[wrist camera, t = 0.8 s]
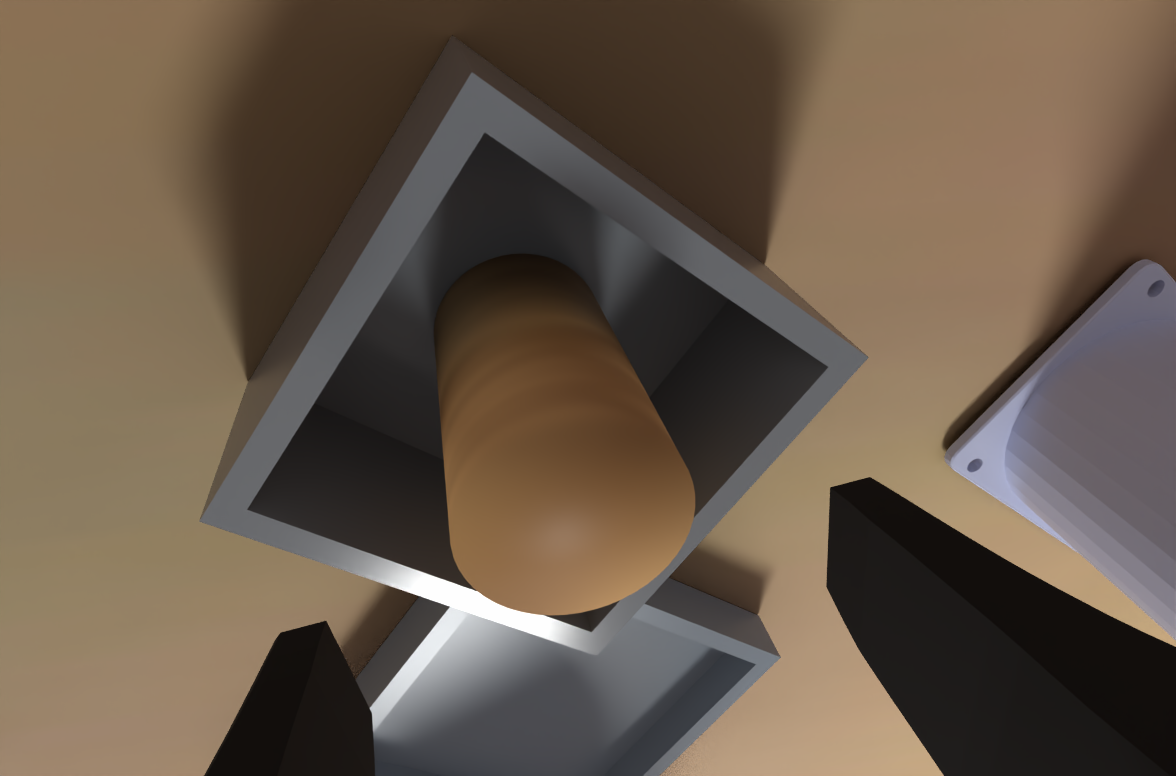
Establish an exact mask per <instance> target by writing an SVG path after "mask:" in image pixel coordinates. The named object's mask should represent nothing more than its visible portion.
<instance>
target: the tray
mask: <svg viewBox="0 0 1176 776" xmlns="http://www.w3.org/2000/svg"><path fill="white" fill-rule="evenodd" d="M780 658H781V657H780V655H779V653H778V651H777V649H776V648H775V646H774V644H773V642H772V640H771V638H770V636H769V634H768V632H767V631H766V629H765V627H764V625H763V623H762V621H761V619H760V617H759V616H758V615H756V614H753V613H751V612H749V611H746V610H744V609H742V608H739V607H737V606H735V605H732V604H730V603H727V602H725V601H723V600H720V599H718V598H716V597H713V596H711V595H708V594H706V593H704V592H701V591H699V590H697V589H694V588H692V587H690V586H687V585H685V584H682V583H680V582H678V581H675V580H673V579H671V578H667V579H666V581H665V582H664V583H663V584H662V585H661V586H660V587H659V588H658V589H657V590H656V592H655V593H654V594H653V595H652V596H651V597H650V598H649V599H648V600H647V601H646V603H645V604H644V605H643V606H642V607H641V608H640V609H639V610H638V611H637V612H636V614H635V615H634V616H633V617H632V618H631V619H630V620H629V621H628V622H627V623H626V624H625V626H624V627H623V628H622V629H621V630H620V631H619V632H618V633H617V634H616V635H615V637H614V638H613V639H612V640H611V641H610V642H609V643H608V644H607V645H606V646H605V648H604V649H603V650H602V651H601V652H600V653H599V654H598V655H597V656H595V655H592V654H589V653H586V652H583V651H580V650H577V649H574V648H571V647H568V646H566V645H563V644H560V643H557V642H554V641H551V640H548V639H545V638H542V637H539V636H536V635H533V634H530V633H527V632H524V631H521V630H518V629H515V628H512V627H509V626H506V625H504V624H501V623H498V622H495V621H492V620H489V619H486V618H483V617H480V616H477V615H474V614H471V613H468V612H465V611H462V610H459V609H456V608H453V607H450V606H447V605H444V604H442V603H439V602H436V601H433V600H430V599H427V598H424V597H421V596H419V597H418V599H417V600H416V601H415V603H414V604H413V605H412V606H411V608H410V609H409V610H408V612H407V613H406V614H405V616H404V617H403V618H402V619H401V621H400V622H399V623H398V625H397V626H396V627H395V629H394V630H393V631H392V632H391V634H390V635H389V636H388V638H387V639H386V640H385V642H384V643H383V644H382V645H381V647H380V648H379V649H378V651H377V652H376V653H375V655H374V656H373V657H372V658H371V660H370V661H369V662H368V664H367V665H366V666H365V668H364V669H363V670H362V671H361V673H360V674H359V675H358V677H357V678H356V679H355V680H356V682H357V684H358V686H359V688H360V690H361V692H362V694H363V696H364V698H365V700H366V702H367V704H368V706H369V708H370V710H371V712H372V721H373V738H374V756H375V776H659V775H660V774H661V773H662V772H663V771H664V770H666V769H667V768H668V767H669V766H670V765H671V764H672V763H673V762H674V761H675V760H676V759H677V758H678V757H679V756H680V755H681V754H682V753H683V752H684V751H685V750H686V749H687V748H688V747H689V746H690V745H691V744H692V743H693V742H694V741H695V740H696V739H697V738H698V737H699V736H700V735H701V734H702V733H704V732H705V731H706V730H707V729H708V728H709V727H710V726H711V725H712V724H713V723H714V722H715V721H716V720H717V719H718V718H719V717H720V716H721V715H722V714H723V713H724V712H725V711H726V710H727V709H728V708H729V707H730V706H731V705H732V704H733V703H734V702H735V701H736V700H737V699H738V698H739V697H740V696H742V695H743V694H744V693H745V692H746V691H747V690H748V689H749V688H750V687H751V686H752V685H753V684H754V683H755V682H756V681H757V680H758V679H759V678H760V677H761V676H762V675H763V674H764V673H765V672H766V671H767V670H768V669H769V668H770V667H771V666H772V665H773V664H774V663H775V662H776V661H777V660H779V659H780Z"/></svg>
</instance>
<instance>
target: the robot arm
mask: <svg viewBox="0 0 1176 776" xmlns="http://www.w3.org/2000/svg"><path fill="white" fill-rule="evenodd" d="M945 462H946V463H947V464H948V465H949V466H950V467H951V468H952V469H953V470H954V471H956V472H957V473H959V474H960V475H962V476H963V477H965V478H966V479H968V480H969V481H971V482H972V483H974V484H975V485H977V486H978V487H980V488H981V489H983V490H984V491H986V492H987V493H989V494H990V495H992V496H993V497H995V498H996V499H998V500H999V501H1001V502H1002V503H1004V504H1005V505H1007V506H1008V507H1010V508H1011V509H1013V510H1014V511H1016V512H1017V513H1019V514H1020V515H1022V516H1023V517H1025V518H1026V519H1028V520H1029V521H1031V522H1032V523H1034V524H1036V525H1037V526H1039V527H1040V528H1042V529H1043V530H1045V531H1046V532H1048V533H1049V534H1051V535H1052V536H1054V537H1055V538H1057V539H1058V540H1060V541H1061V542H1063V543H1064V544H1066V545H1067V546H1069V547H1070V548H1072V549H1073V550H1075V551H1076V552H1078V553H1079V554H1081V555H1082V556H1083V557H1084V558H1085V559H1086V560H1087V561H1088V562H1090V563H1091V564H1092V565H1093V566H1094V567H1095V568H1096V569H1097V570H1098V571H1099V572H1101V573H1102V574H1103V575H1104V576H1105V577H1106V578H1107V579H1108V580H1109V581H1111V582H1112V583H1113V584H1114V585H1115V586H1116V587H1117V588H1118V589H1119V590H1121V591H1122V592H1123V593H1124V594H1125V595H1126V596H1127V597H1128V598H1129V599H1130V600H1132V601H1133V602H1134V603H1135V604H1136V605H1137V606H1138V607H1139V608H1140V609H1142V610H1143V611H1144V612H1145V613H1146V614H1147V615H1148V616H1149V617H1150V618H1151V619H1153V620H1154V621H1155V622H1156V623H1157V624H1158V625H1159V626H1160V627H1161V628H1163V629H1164V630H1165V631H1166V632H1167V633H1168V634H1169V635H1170V636H1171V637H1172V638H1174V639H1175V640H1176V282H1175V280H1174V279H1173V278H1172V277H1171V276H1170V275H1169V274H1168V273H1167V271H1166V270H1165V269H1164V268H1163V267H1162V266H1161V265H1160V264H1158V263H1156V262H1153V261H1151V260H1149V259H1143V260H1140V261H1138V262H1136V263H1134V264H1133V265H1132V266H1130V267H1129V268H1128V269H1127V270H1126V271H1125V272H1124V273H1123V274H1122V275H1121V276H1120V277H1119V278H1118V279H1117V280H1116V281H1115V282H1114V283H1113V284H1112V285H1111V286H1110V287H1109V288H1108V289H1107V290H1106V291H1105V292H1104V293H1103V294H1102V295H1101V296H1100V297H1099V298H1098V299H1097V300H1096V301H1095V302H1094V303H1093V304H1092V305H1091V306H1090V307H1089V308H1088V309H1087V310H1086V311H1085V312H1084V313H1083V314H1082V315H1081V316H1080V317H1079V318H1078V319H1077V320H1076V321H1075V322H1074V323H1073V324H1072V325H1071V326H1070V327H1069V328H1068V329H1067V330H1066V331H1065V332H1064V333H1063V334H1062V335H1061V336H1060V337H1059V338H1058V339H1057V340H1056V341H1055V342H1054V343H1053V344H1052V345H1051V346H1050V347H1049V348H1048V349H1047V350H1046V351H1045V352H1044V353H1043V354H1042V355H1041V356H1040V357H1039V358H1038V359H1037V360H1036V361H1035V362H1034V363H1033V364H1032V365H1031V366H1030V367H1029V368H1028V369H1027V370H1026V371H1025V372H1024V373H1023V374H1022V375H1021V376H1020V377H1019V378H1018V379H1017V380H1016V381H1015V382H1014V383H1013V384H1012V385H1011V386H1010V387H1009V388H1008V389H1007V390H1006V391H1005V392H1004V393H1003V394H1002V395H1001V396H1000V397H999V398H998V399H997V400H996V401H995V402H994V403H993V404H992V405H991V406H990V407H989V408H988V409H987V410H986V411H985V412H984V413H983V414H982V415H981V416H980V417H979V418H978V419H977V420H976V421H975V422H974V423H973V424H972V425H971V426H970V427H969V428H968V429H967V430H966V431H965V432H964V433H963V434H962V435H961V436H960V437H959V438H958V439H957V440H956V441H955V442H954V443H953V444H952V445H951V446H950V447H949V448H948V450H947V451H946V454H945ZM826 587H827V589H828V591H829V593H830V595H831V597H832V599H833V601H834V603H835V605H836V607H837V609H838V611H839V613H840V615H841V617H842V619H843V621H844V623H845V624H846V626H847V628H848V630H849V632H850V634H851V636H852V638H853V639H854V641H855V643H856V645H857V647H858V649H859V651H860V652H861V654H862V655H863V657H864V658H865V660H866V661H867V663H868V664H869V666H870V667H871V669H872V670H873V672H874V673H875V675H876V676H877V678H878V679H879V681H880V682H881V684H882V685H883V687H884V688H885V690H886V691H887V693H888V694H889V696H890V697H891V699H892V700H893V702H894V703H895V704H896V706H897V707H898V709H899V710H900V712H901V713H902V715H903V716H904V718H905V719H906V721H907V722H908V723H909V725H910V726H911V728H912V729H913V731H914V732H915V734H916V735H917V737H918V738H919V740H920V741H921V743H922V744H923V745H924V747H925V748H926V750H927V751H928V753H929V754H930V756H931V757H932V759H933V760H934V762H935V763H936V765H937V766H938V767H939V769H940V770H941V772H942V773H943V775H944V776H1176V647H1175V646H1172V645H1170V644H1168V643H1166V642H1164V641H1161V640H1159V639H1157V638H1155V637H1153V636H1150V635H1148V634H1146V633H1144V632H1142V631H1140V630H1138V629H1136V628H1134V627H1132V626H1129V625H1127V624H1125V623H1123V622H1121V621H1119V620H1117V619H1115V618H1113V617H1111V616H1109V615H1107V614H1105V613H1103V612H1101V611H1099V610H1098V609H1096V608H1094V607H1092V606H1090V605H1088V604H1086V603H1084V602H1082V601H1080V600H1078V599H1077V598H1075V597H1073V596H1071V595H1069V594H1067V593H1065V592H1063V591H1061V590H1059V589H1057V588H1056V587H1054V586H1052V585H1050V584H1048V583H1047V582H1045V581H1043V580H1041V579H1039V578H1037V577H1036V576H1034V575H1032V574H1030V573H1028V572H1027V571H1025V570H1023V569H1021V568H1020V567H1018V566H1016V565H1014V564H1013V563H1011V562H1009V561H1007V560H1006V559H1004V558H1002V557H1001V556H999V555H997V554H995V553H994V552H992V551H990V550H989V549H987V548H985V547H984V546H982V545H980V544H979V543H977V542H975V541H973V540H972V539H970V538H968V537H967V536H965V535H963V534H962V533H960V532H959V531H957V530H955V529H954V528H952V527H950V526H949V525H947V524H946V523H944V522H942V521H941V520H939V519H937V518H936V517H934V516H932V515H931V514H929V513H928V512H926V511H924V510H923V509H921V508H920V507H918V506H916V505H915V504H913V503H912V502H910V501H908V500H907V499H905V498H904V497H902V496H900V495H899V494H897V493H895V492H894V491H892V490H891V489H889V488H887V487H886V486H884V485H882V484H881V483H879V482H877V481H876V480H874V479H872V478H871V477H868V478H865V479H861V480H857V481H853V482H849V483H846V484H842V485H838V486H834V487H830V509H829V535H828V561H827V586H826ZM204 776H375V756H374V738H373V721H372V712H371V710H370V708H369V706H368V704H367V702H366V700H365V698H364V696H363V694H362V692H361V690H360V688H359V686H358V684H357V682H356V680H355V678H354V676H353V674H352V672H351V670H350V668H349V666H348V664H347V662H346V660H345V658H344V656H343V654H342V652H341V650H340V648H339V646H338V644H337V642H336V640H335V638H334V636H333V634H332V632H331V630H330V627H329V625H328V623H327V621H323V622H320V623H316V624H312V625H308V626H304V627H301V628H297V629H293V630H289V631H285V632H282V633H280V634H279V636H278V637H277V638H276V640H275V641H274V643H273V645H272V647H271V649H270V651H269V653H268V655H267V657H266V659H265V661H264V663H263V665H262V667H261V669H260V671H259V673H258V675H257V677H256V679H255V681H254V683H253V685H252V687H251V689H250V691H249V693H248V695H247V696H246V698H245V700H244V702H243V704H242V706H241V708H240V710H239V712H238V714H237V716H236V718H235V720H234V721H233V723H232V725H231V727H230V729H229V731H228V733H227V735H226V737H225V739H224V741H223V742H222V744H221V746H220V748H219V750H218V751H217V753H216V755H215V757H214V759H213V761H212V762H211V764H210V766H209V768H208V770H207V771H206V773H205V775H204Z"/></svg>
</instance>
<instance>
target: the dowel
mask: <svg viewBox="0 0 1176 776" xmlns="http://www.w3.org/2000/svg"><path fill="white" fill-rule="evenodd" d="M434 346H435V358H436V371H437V383H438V396H439V408H440V421H441V433H442V445H443V458H444V470H445V483H446V495H447V508H448V520H449V533H450V545H451V549H452V553H453V557H454V560H455V562H456V564H457V567H458V569H459V570H460V572H461V573H462V575H463V576H464V578H465V579H466V580H467V581H468V583H469V584H470V585H471V586H472V587H473V588H474V589H475V590H477V591H478V592H479V593H480V594H482V595H483V596H484V597H486V598H488V599H489V600H491V601H493V602H495V603H497V604H499V605H501V606H504V607H506V608H509V609H512V610H516V611H519V612H524V613H530V614H536V615H567V614H575V613H581V612H586V611H590V610H594V609H598V608H601V607H604V606H607V605H610V604H612V603H614V602H617V601H619V600H621V599H623V598H625V597H627V596H629V595H631V594H633V593H635V592H636V591H638V590H639V589H641V588H642V587H644V586H645V585H647V584H648V583H649V582H651V581H652V580H653V579H654V578H656V577H657V576H658V575H659V574H660V573H661V572H662V571H663V570H664V569H665V568H666V567H667V566H668V565H669V564H670V563H671V561H672V560H673V559H674V558H675V556H676V555H677V554H678V552H679V551H680V549H681V547H682V546H683V544H684V542H685V540H686V538H687V536H688V534H689V532H690V529H691V525H692V522H693V519H694V512H695V491H694V485H693V481H692V478H691V475H690V473H689V470H688V469H687V467H686V465H685V463H684V461H683V459H682V457H681V456H680V454H679V452H678V450H677V448H676V446H675V444H674V443H673V441H672V439H671V437H670V435H669V433H668V432H667V430H666V428H665V426H664V424H663V422H662V420H661V419H660V417H659V415H658V413H657V411H656V409H655V407H654V406H653V404H652V402H651V400H650V398H649V396H648V395H647V393H646V391H645V389H644V387H643V385H642V383H641V382H640V380H639V378H638V376H637V374H636V372H635V371H634V369H633V367H632V365H631V363H630V361H629V359H628V358H627V356H626V354H625V352H624V350H623V348H622V346H621V345H620V343H619V341H618V339H617V337H616V335H615V334H614V332H613V330H612V328H611V326H610V324H609V322H608V321H607V319H606V317H605V315H604V313H603V311H602V310H601V308H600V306H599V304H598V302H597V300H596V298H595V297H594V295H593V293H592V291H591V290H590V288H589V286H588V285H587V284H586V283H585V281H584V280H583V279H582V278H581V277H580V276H579V275H578V274H577V273H576V272H575V271H573V270H572V269H570V268H569V267H568V266H566V265H564V264H562V263H560V262H559V261H556V260H554V259H551V258H548V257H544V256H540V255H535V254H509V255H503V256H499V257H495V258H492V259H489V260H487V261H484V262H482V263H480V264H478V265H476V266H475V267H473V268H471V269H470V270H468V271H467V272H466V273H464V274H463V275H462V276H461V277H460V278H459V279H458V280H457V281H456V282H455V283H454V284H453V285H452V286H451V287H450V289H449V290H448V291H447V292H446V294H445V296H444V298H443V299H442V301H441V303H440V306H439V308H438V311H437V314H436V318H435V322H434Z"/></svg>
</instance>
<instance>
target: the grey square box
mask: <svg viewBox="0 0 1176 776" xmlns="http://www.w3.org/2000/svg"><path fill="white" fill-rule="evenodd" d="M509 254H535V255H540V256H544V257H548V258H551V259H554V260H556V261H559V262H560V263H562V264H564V265H566V266H568V267H569V268H570V269H572V270H573V271H575V272H576V273H577V274H578V275H579V276H580V277H581V278H582V279H583V280H584V281H585V283H586V284H587V285H588V286H589V288H590V290H591V291H592V293H593V295H594V297H595V298H596V300H597V302H598V304H599V306H600V308H601V310H602V311H603V313H604V315H605V317H606V319H607V321H608V322H609V324H610V326H611V328H612V330H613V332H614V334H615V335H616V337H617V339H618V341H619V343H620V345H621V346H622V348H623V350H624V352H625V354H626V356H627V358H628V359H629V361H630V363H631V365H632V367H633V369H634V371H635V372H636V374H637V376H638V378H639V380H640V382H641V383H642V385H643V387H644V389H645V391H646V393H647V395H648V396H649V398H650V400H651V402H652V404H653V406H654V407H655V409H656V411H657V413H658V415H659V417H660V419H661V420H662V422H663V424H664V426H665V428H666V430H667V432H668V433H669V435H670V437H671V439H672V441H673V443H674V444H675V446H676V448H677V450H678V452H679V454H680V456H681V457H682V459H683V461H684V463H685V465H686V467H687V469H688V470H689V473H690V475H691V478H692V481H693V485H694V491H695V512H694V519H693V522H692V525H691V529H690V532H689V534H688V536H687V538H686V540H685V542H684V544H683V546H682V547H681V549H680V551H679V552H678V554H677V555H676V556H675V558H674V559H673V560H672V561H671V563H670V564H669V565H668V566H667V567H666V568H665V569H664V570H663V571H662V572H661V573H660V574H659V575H658V576H657V577H656V578H654V579H653V580H652V581H651V582H649V583H648V584H647V585H645V586H644V587H642V588H641V589H639V590H638V591H636V592H635V593H633V594H631V595H629V596H627V597H625V598H623V599H621V600H619V601H617V602H614V603H612V604H610V605H607V606H604V607H601V608H598V609H594V610H590V611H586V612H581V613H575V614H567V615H536V614H530V613H524V612H519V611H516V610H512V609H509V608H506V607H504V606H501V605H499V604H497V603H495V602H493V601H491V600H489V599H488V598H486V597H484V596H483V595H482V594H480V593H479V592H478V591H477V590H475V589H474V588H473V587H472V586H471V585H470V584H469V583H468V581H467V580H466V579H465V578H464V576H463V575H462V573H461V572H460V570H459V569H458V567H457V564H456V562H455V560H454V557H453V553H452V549H451V545H450V533H449V520H448V508H447V495H446V483H445V470H444V458H443V445H442V433H441V421H440V408H439V396H438V383H437V371H436V358H435V346H434V322H435V318H436V314H437V311H438V308H439V306H440V303H441V301H442V299H443V298H444V296H445V294H446V292H447V291H448V290H449V289H450V287H451V286H452V285H453V284H454V283H455V282H456V281H457V280H458V279H459V278H460V277H461V276H462V275H463V274H464V273H466V272H467V271H468V270H470V269H471V268H473V267H475V266H476V265H478V264H480V263H482V262H484V261H487V260H489V259H492V258H495V257H499V256H503V255H509ZM867 359H868V356H867V355H865V354H864V353H863V352H862V351H861V350H860V349H859V348H858V347H856V346H855V345H854V344H853V343H852V342H851V341H850V340H849V339H847V338H846V337H845V336H844V335H843V334H842V333H841V332H840V331H839V330H837V329H836V328H835V327H834V326H833V325H832V324H831V323H830V322H828V321H827V320H826V319H825V318H824V317H823V316H822V315H821V314H819V313H818V312H817V311H816V310H815V309H814V308H813V307H812V306H811V305H809V304H808V303H807V302H806V301H805V300H804V299H803V298H802V297H800V296H799V295H798V294H797V293H796V292H795V291H794V290H793V289H791V288H790V287H789V286H788V285H787V284H786V283H785V282H784V281H782V280H781V279H780V278H779V277H778V276H777V275H776V274H775V273H774V272H772V271H771V270H770V269H769V268H768V267H767V266H766V265H764V264H763V263H762V262H760V261H759V260H758V259H756V258H755V257H753V256H752V255H751V254H749V253H748V252H747V251H745V250H744V249H743V248H741V247H740V246H738V245H737V244H736V243H734V242H733V241H732V240H730V239H729V238H728V237H726V236H725V235H723V234H722V233H721V232H719V231H718V230H717V229H715V228H714V227H713V226H711V225H710V224H709V223H707V222H706V221H704V220H703V219H702V218H700V217H699V216H698V215H696V214H695V213H694V212H692V211H691V210H689V209H688V208H687V207H685V206H684V205H683V204H681V203H680V202H679V201H677V200H676V199H674V198H673V197H672V196H670V195H669V194H668V193H666V192H665V191H664V190H662V189H661V188H660V187H658V186H657V185H655V184H654V183H653V182H651V181H650V180H649V179H647V178H646V177H645V176H643V175H642V174H640V173H639V172H638V171H636V170H635V169H634V168H632V167H631V166H630V165H628V164H627V163H625V162H624V161H623V160H621V159H620V158H619V157H617V156H616V155H615V154H613V153H612V152H611V151H609V150H608V149H606V148H605V147H604V146H602V145H601V144H600V143H598V142H597V141H596V140H594V139H593V138H591V137H590V136H589V135H587V134H586V133H585V132H583V131H582V130H581V129H579V128H578V127H577V126H575V125H574V124H572V123H571V122H570V121H568V120H567V119H566V118H564V117H563V116H562V115H560V114H559V113H557V112H556V111H555V110H553V109H552V108H551V107H549V106H548V105H547V104H545V103H544V102H542V101H541V100H540V99H538V98H537V97H536V96H534V95H533V94H532V93H530V92H529V91H528V90H526V89H525V88H523V87H522V86H521V85H519V84H518V83H517V82H515V81H514V80H513V79H511V78H510V77H508V76H507V75H506V74H504V73H503V72H502V71H500V70H499V69H498V68H496V67H495V66H493V65H492V64H491V63H489V62H488V61H487V60H485V59H484V58H483V57H481V56H480V55H479V54H477V53H476V52H474V51H473V50H472V49H470V48H469V47H468V46H466V45H465V44H464V43H462V42H461V41H459V40H458V39H457V38H455V37H454V36H453V35H452V36H451V38H450V40H449V41H448V43H447V45H446V46H445V48H444V50H443V52H442V53H441V55H440V57H439V58H438V60H437V62H436V63H435V65H434V67H433V69H432V70H431V72H430V74H429V75H428V77H427V79H426V81H425V82H424V84H423V86H422V87H421V89H420V91H419V92H418V94H417V96H416V98H415V99H414V101H413V103H412V104H411V106H410V108H409V109H408V111H407V113H406V115H405V116H404V118H403V120H402V121H401V123H400V125H399V126H398V128H397V130H396V132H395V133H394V135H393V137H392V138H391V140H390V142H389V143H388V145H387V147H386V149H385V150H384V152H383V154H382V155H381V157H380V159H379V161H378V162H377V164H376V166H375V167H374V169H373V171H372V172H371V174H370V176H369V178H368V179H367V181H366V183H365V184H364V186H363V188H362V189H361V191H360V193H359V195H358V196H357V198H356V200H355V201H354V203H353V205H352V206H351V208H350V210H349V212H348V213H347V215H346V217H345V218H344V220H343V222H342V223H341V225H340V227H339V229H338V230H337V232H336V234H335V235H334V237H333V239H332V241H331V242H330V244H329V246H328V247H327V249H326V251H325V252H324V254H323V256H322V258H321V259H320V261H319V263H318V264H317V266H316V268H315V269H314V271H313V273H312V275H311V276H310V278H309V280H308V281H307V283H306V285H305V286H304V288H303V290H302V292H301V293H300V295H299V297H298V298H297V300H296V302H295V304H294V305H293V307H292V309H291V310H290V312H289V314H288V315H287V317H286V319H285V321H284V322H283V324H282V326H281V327H280V329H279V331H278V332H277V334H276V336H275V338H274V339H273V341H272V343H271V344H270V346H269V348H268V349H267V351H266V353H265V355H264V356H263V358H262V360H261V361H260V363H259V365H258V366H257V368H256V370H255V372H254V373H253V375H252V377H251V378H250V380H249V382H248V384H247V386H246V389H245V392H244V395H243V398H242V400H241V403H240V406H239V409H238V412H237V415H236V418H235V421H234V423H233V426H232V429H231V432H230V435H229V438H228V441H227V443H226V446H225V449H224V452H223V455H222V458H221V461H220V464H219V466H218V469H217V472H216V475H215V478H214V481H213V484H212V486H211V489H210V492H209V495H208V498H207V501H206V504H205V507H204V509H203V512H202V515H201V518H200V521H199V522H202V523H205V524H208V525H211V526H214V527H217V528H220V529H223V530H226V531H229V532H232V533H235V534H238V535H241V536H244V537H247V538H250V539H253V540H256V541H258V542H261V543H264V544H267V545H270V546H273V547H276V548H279V549H282V550H285V551H288V552H291V553H294V554H297V555H300V556H303V557H306V558H309V559H312V560H315V561H318V562H320V563H323V564H326V565H329V566H332V567H335V568H338V569H341V570H344V571H347V572H350V573H353V574H356V575H359V576H362V577H365V578H368V579H371V580H374V581H377V582H380V583H382V584H385V585H388V586H391V587H394V588H397V589H400V590H403V591H406V592H409V593H412V594H415V595H418V596H421V597H424V598H427V599H430V600H433V601H436V602H439V603H442V604H444V605H447V606H450V607H453V608H456V609H459V610H462V611H465V612H468V613H471V614H474V615H477V616H480V617H483V618H486V619H489V620H492V621H495V622H498V623H501V624H504V625H506V626H509V627H512V628H515V629H518V630H521V631H524V632H527V633H530V634H533V635H536V636H539V637H542V638H545V639H548V640H551V641H554V642H557V643H560V644H563V645H566V646H568V647H571V648H574V649H577V650H580V651H583V652H586V653H589V654H592V655H595V656H597V655H598V654H599V653H600V652H601V651H602V650H603V649H604V648H605V646H606V645H607V644H608V643H609V642H610V641H611V640H612V639H613V638H614V637H615V635H616V634H617V633H618V632H619V631H620V630H621V629H622V628H623V627H624V626H625V624H626V623H627V622H628V621H629V620H630V619H631V618H632V617H633V616H634V615H635V614H636V612H637V611H638V610H639V609H640V608H641V607H642V606H643V605H644V604H645V603H646V601H647V600H648V599H649V598H650V597H651V596H652V595H653V594H654V593H655V592H656V590H657V589H658V588H659V587H660V586H661V585H662V584H663V583H664V582H665V581H666V579H667V578H668V577H669V576H670V575H671V574H672V573H673V572H674V571H675V570H676V568H677V567H678V566H679V565H680V564H681V563H682V562H683V561H684V560H685V559H686V557H687V556H688V555H689V554H690V553H691V552H692V551H693V550H694V549H695V548H696V546H697V545H698V544H699V543H700V542H701V541H702V540H703V539H704V538H705V537H706V535H707V534H708V533H709V532H710V531H711V530H712V529H713V528H714V527H715V526H716V524H717V523H718V522H719V521H720V520H721V519H722V518H723V517H724V516H725V515H726V514H727V512H728V511H729V510H730V509H731V508H732V507H733V506H734V505H735V504H736V503H737V501H738V500H739V499H740V498H741V497H742V496H743V495H744V494H745V493H746V492H747V490H748V489H749V488H750V487H751V486H752V485H753V484H754V483H755V482H756V481H757V479H758V478H759V477H760V476H761V475H762V474H763V473H764V472H765V471H766V470H767V468H768V467H769V466H770V465H771V464H772V463H773V462H774V461H775V460H776V459H777V457H778V456H779V455H780V454H781V453H782V452H783V451H784V450H785V449H786V448H787V446H788V445H789V444H790V443H791V442H792V441H793V440H794V439H795V438H796V437H797V435H798V434H799V433H800V432H801V431H802V430H803V429H804V428H805V427H806V426H807V424H808V423H809V422H810V421H811V420H812V419H813V418H814V417H815V416H816V415H817V414H818V412H819V411H820V410H821V409H822V408H823V407H824V406H825V405H826V404H827V403H828V401H829V400H830V399H831V398H832V397H833V396H834V395H835V394H836V393H837V392H838V390H839V389H840V388H841V387H842V386H843V385H844V384H845V383H846V382H847V381H848V379H849V378H850V377H851V376H852V375H853V374H854V373H855V372H856V371H857V370H858V368H859V367H860V366H861V365H862V364H863V363H864V362H865V361H866V360H867Z"/></svg>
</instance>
